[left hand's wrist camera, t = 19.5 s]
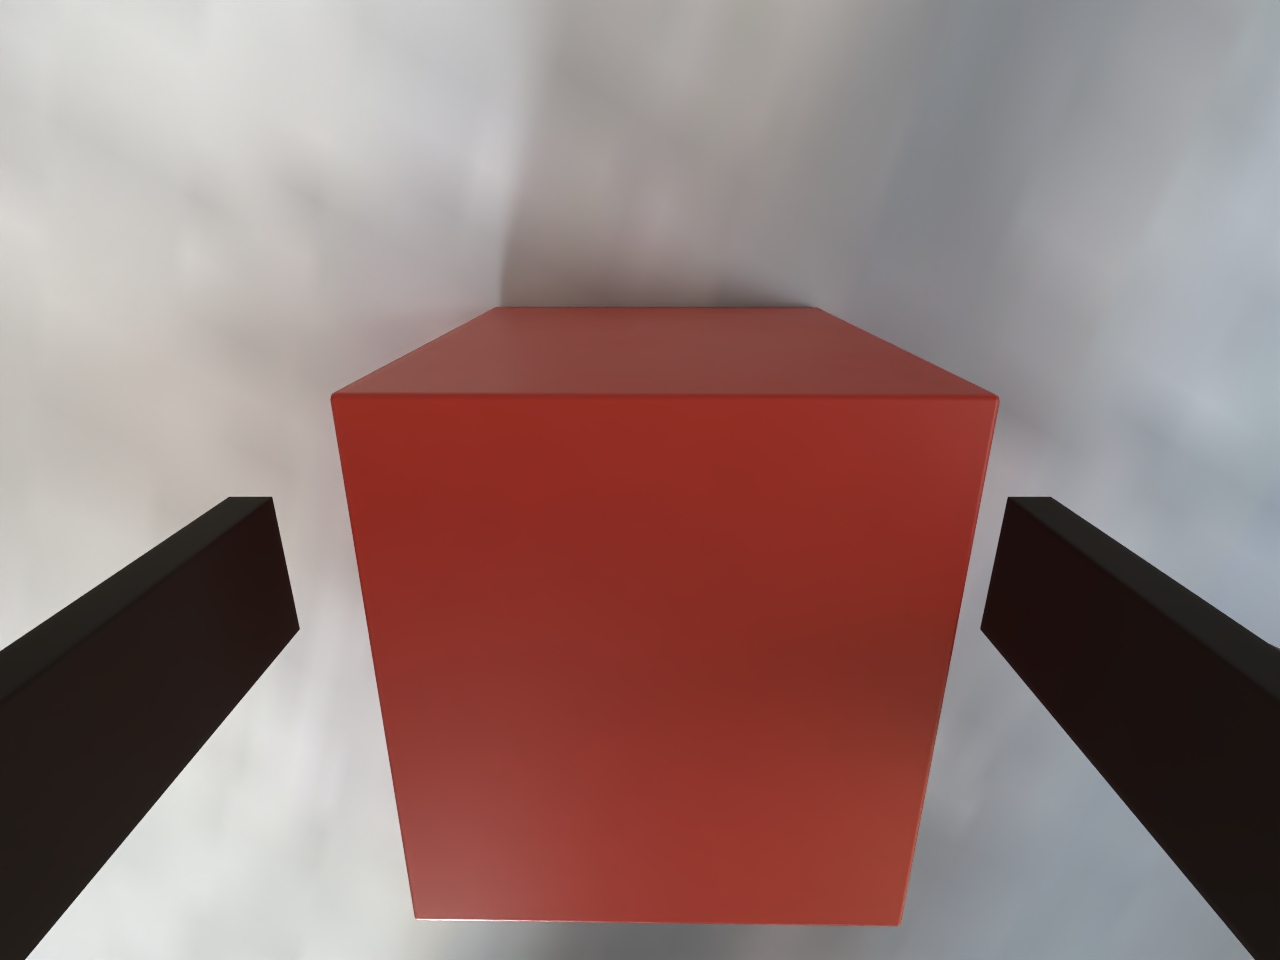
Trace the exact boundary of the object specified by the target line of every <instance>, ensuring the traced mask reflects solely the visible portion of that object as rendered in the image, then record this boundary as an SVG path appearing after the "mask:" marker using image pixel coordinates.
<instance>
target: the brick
mask: <svg viewBox="0 0 1280 960" xmlns="http://www.w3.org/2000/svg"><path fill="white" fill-rule="evenodd" d="M331 405H332V411H333V418H334V424H335V430H336V436H337V442H338V448H339V454H340V461H341V467H342V473H343V479H344V485H345V491H346V497H347V504H348V510H349V516H350V522H351V528H352V534H353V540H354V547H355V553H356V559H357V565H358V571H359V577H360V583H361V590H362V596H363V602H364V608H365V614H366V620H367V626H368V633H369V639H370V645H371V651H372V657H373V663H374V669H375V676H376V682H377V688H378V694H379V700H380V706H381V712H382V719H383V725H384V731H385V737H386V743H387V749H388V755H389V762H390V768H391V774H392V780H393V786H394V792H395V798H396V805H397V811H398V817H399V823H400V829H401V835H402V842H403V848H404V854H405V860H406V866H407V872H408V878H409V885H410V891H411V897H412V903H413V909H414V915H415V918H416V919H418V920H464V921H542V922H620V923H698V924H776V925H855V926H898V925H900V924H901V919H902V914H903V908H904V903H905V898H906V893H907V887H908V882H909V877H910V872H911V866H912V861H913V856H914V850H915V845H916V840H917V835H918V829H919V824H920V819H921V813H922V808H923V803H924V798H925V792H926V787H927V782H928V776H929V771H930V766H931V761H932V755H933V750H934V745H935V740H936V734H937V729H938V724H939V718H940V713H941V708H942V703H943V697H944V692H945V687H946V681H947V676H948V671H949V666H950V660H951V655H952V650H953V644H954V639H955V634H956V629H957V623H958V618H959V613H960V607H961V602H962V597H963V592H964V586H965V581H966V576H967V571H968V565H969V560H970V555H971V549H972V544H973V539H974V534H975V528H976V523H977V518H978V512H979V507H980V502H981V497H982V491H983V486H984V481H985V475H986V470H987V465H988V460H989V454H990V449H991V444H992V439H993V433H994V428H995V423H996V417H997V412H998V407H999V397H998V396H997V395H995V394H993V393H991V392H989V391H987V390H985V389H983V388H981V387H979V386H977V385H975V384H973V383H970V382H968V381H966V380H964V379H962V378H960V377H958V376H956V375H954V374H952V373H950V372H948V371H946V370H944V369H942V368H940V367H938V366H936V365H934V364H931V363H929V362H927V361H925V360H923V359H921V358H919V357H917V356H915V355H913V354H911V353H909V352H907V351H905V350H903V349H901V348H899V347H897V346H895V345H893V344H890V343H888V342H886V341H884V340H882V339H880V338H878V337H876V336H874V335H872V334H870V333H868V332H866V331H864V330H862V329H860V328H858V327H856V326H854V325H852V324H849V323H847V322H845V321H843V320H841V319H839V318H837V317H835V316H833V315H831V314H829V313H827V312H825V311H823V310H821V309H819V308H782V307H496V308H494V309H492V310H490V311H488V312H486V313H484V314H482V315H480V316H478V317H477V318H475V319H473V320H471V321H469V322H467V323H465V324H463V325H461V326H459V327H458V328H456V329H454V330H452V331H450V332H448V333H446V334H444V335H442V336H441V337H439V338H437V339H435V340H433V341H431V342H429V343H427V344H425V345H423V346H422V347H420V348H418V349H416V350H414V351H412V352H410V353H408V354H406V355H405V356H403V357H401V358H399V359H397V360H395V361H393V362H391V363H389V364H388V365H386V366H384V367H382V368H380V369H378V370H376V371H374V372H372V373H370V374H369V375H367V376H365V377H363V378H361V379H359V380H357V381H355V382H353V383H352V384H350V385H348V386H346V387H344V388H342V389H340V390H338V391H336V392H334V393H333V394H332V395H331Z"/></svg>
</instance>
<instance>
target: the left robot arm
mask: <svg viewBox="0 0 1280 960" xmlns="http://www.w3.org/2000/svg"><path fill="white" fill-rule="evenodd" d="M299 629H300V628H299V623H298V618H297V614H296V609H295V604H294V599H293V594H292V590H291V585H290V580H289V575H288V570H287V566H286V561H285V556H284V551H283V547H282V542H281V537H280V532H279V527H278V523H277V518H276V513H275V508H274V503H273V499H272V497H228V498H227V499H225V500H224V501H222V502H221V503H219V504H218V505H216V506H215V507H213V508H212V509H210V510H209V511H208V512H206V513H205V514H203V515H202V516H200V517H199V518H197V519H196V520H194V521H193V522H191V523H190V524H188V525H187V526H185V527H184V528H182V529H181V530H179V531H178V532H176V533H175V534H173V535H172V536H170V537H169V538H167V539H166V540H165V541H163V542H162V543H160V544H159V545H157V546H156V547H154V548H153V549H151V550H150V551H148V552H147V553H145V554H144V555H142V556H141V557H139V558H138V559H136V560H135V561H133V562H132V563H130V564H129V565H127V566H126V567H124V568H123V569H122V570H120V571H119V572H117V573H116V574H114V575H113V576H111V577H110V578H108V579H107V580H105V581H104V582H102V583H101V584H99V585H98V586H96V587H95V588H93V589H92V590H90V591H89V592H87V593H86V594H84V595H83V596H81V597H80V598H79V599H77V600H76V601H74V602H73V603H71V604H70V605H68V606H67V607H65V608H64V609H62V610H61V611H59V612H58V613H56V614H55V615H53V616H52V617H50V618H49V619H47V620H46V621H44V622H43V623H41V624H40V625H38V626H37V627H36V628H34V629H33V630H31V631H30V632H28V633H27V634H25V635H24V636H22V637H21V638H19V639H18V640H16V641H15V642H13V643H12V644H10V645H9V646H7V647H6V648H4V649H3V650H1V651H0V960H25V959H26V958H27V957H28V955H29V954H30V953H31V952H32V951H33V949H34V948H35V947H36V946H37V945H38V943H39V942H40V941H41V940H42V939H43V937H44V936H45V935H46V934H47V933H48V931H49V930H50V929H51V928H52V927H53V925H54V924H55V923H56V922H57V921H58V919H59V918H60V917H61V916H62V915H63V913H64V912H65V911H66V910H67V909H68V907H69V906H70V905H71V904H72V903H73V901H74V900H75V899H76V898H77V896H78V895H79V894H80V893H81V892H82V890H83V889H84V888H85V887H86V886H87V884H88V883H89V882H90V881H91V880H92V878H93V877H94V876H95V875H96V874H97V872H98V871H99V870H100V869H101V868H102V866H103V865H104V864H105V863H106V862H107V860H108V859H109V858H110V857H111V856H112V854H113V853H114V852H115V851H116V850H117V848H118V847H119V846H120V845H121V844H122V842H123V841H124V840H125V839H126V838H127V836H128V835H129V834H130V833H131V832H132V830H133V829H134V828H135V827H136V826H137V824H138V823H139V822H140V821H141V820H142V818H143V817H144V816H145V815H146V813H147V812H148V811H149V810H150V809H151V807H152V806H153V805H154V804H155V803H156V801H157V800H158V799H159V798H160V797H161V795H162V794H163V793H164V792H165V791H166V789H167V788H168V787H169V786H170V785H171V783H172V782H173V781H174V780H175V779H176V777H177V776H178V775H179V774H180V773H181V771H182V770H183V769H184V768H185V767H186V765H187V764H188V763H189V762H190V761H191V759H192V758H193V757H194V756H195V755H196V753H197V752H198V751H199V750H200V749H201V747H202V746H203V745H204V744H205V743H206V741H207V740H208V739H209V738H210V737H211V735H212V734H213V733H214V732H215V730H216V729H217V728H218V727H219V726H220V724H221V723H222V722H223V721H224V720H225V718H226V717H227V716H228V715H229V714H230V712H231V711H232V710H233V709H234V708H235V706H236V705H237V704H238V703H239V702H240V700H241V699H242V698H243V697H244V696H245V694H246V693H247V692H248V691H249V690H250V688H251V687H252V686H253V685H254V684H255V682H256V681H257V680H258V679H259V678H260V676H261V675H262V674H263V673H264V672H265V670H266V669H267V668H268V667H269V666H270V664H271V663H272V662H273V661H274V660H275V658H276V657H277V656H278V655H279V654H280V652H281V651H282V650H283V649H284V647H285V646H286V645H287V644H288V643H289V641H290V640H291V639H292V638H293V637H294V635H295V634H296V633H297V632H298V631H299ZM980 629H981V631H982V632H983V633H984V634H985V635H986V637H987V638H988V639H989V640H990V641H991V643H992V644H993V645H994V646H995V647H996V649H997V650H998V651H999V652H1000V654H1001V655H1002V656H1003V657H1004V658H1005V660H1006V661H1007V662H1008V663H1009V664H1010V666H1011V667H1012V668H1013V669H1014V670H1015V672H1016V673H1017V674H1018V675H1019V676H1020V678H1021V679H1022V680H1023V681H1024V682H1025V684H1026V685H1027V686H1028V687H1029V688H1030V690H1031V691H1032V692H1033V693H1034V694H1035V696H1036V697H1037V698H1038V699H1039V700H1040V702H1041V703H1042V704H1043V705H1044V706H1045V708H1046V709H1047V710H1048V711H1049V712H1050V714H1051V715H1052V716H1053V717H1054V718H1055V720H1056V721H1057V722H1058V723H1059V724H1060V726H1061V727H1062V728H1063V729H1064V730H1065V732H1066V733H1067V734H1068V735H1069V737H1070V738H1071V739H1072V740H1073V741H1074V743H1075V744H1076V745H1077V746H1078V747H1079V749H1080V750H1081V751H1082V752H1083V753H1084V755H1085V756H1086V757H1087V758H1088V759H1089V761H1090V762H1091V763H1092V764H1093V765H1094V767H1095V768H1096V769H1097V770H1098V771H1099V773H1100V774H1101V775H1102V776H1103V777H1104V779H1105V780H1106V781H1107V782H1108V783H1109V785H1110V786H1111V787H1112V788H1113V789H1114V791H1115V792H1116V793H1117V794H1118V795H1119V797H1120V798H1121V799H1122V800H1123V801H1124V803H1125V804H1126V805H1127V806H1128V807H1129V809H1130V810H1131V811H1132V812H1133V813H1134V815H1135V816H1136V817H1137V818H1138V820H1139V821H1140V822H1141V823H1142V824H1143V826H1144V827H1145V828H1146V829H1147V830H1148V832H1149V833H1150V834H1151V835H1152V836H1153V838H1154V839H1155V840H1156V841H1157V842H1158V844H1159V845H1160V846H1161V847H1162V848H1163V850H1164V851H1165V852H1166V853H1167V854H1168V856H1169V857H1170V858H1171V859H1172V860H1173V862H1174V863H1175V864H1176V865H1177V866H1178V868H1179V869H1180V870H1181V871H1182V872H1183V874H1184V875H1185V876H1186V877H1187V878H1188V880H1189V881H1190V882H1191V883H1192V884H1193V886H1194V887H1195V888H1196V889H1197V890H1198V892H1199V893H1200V894H1201V895H1202V896H1203V898H1204V899H1205V900H1206V901H1207V903H1208V904H1209V905H1210V906H1211V907H1212V909H1213V910H1214V911H1215V912H1216V913H1217V915H1218V916H1219V917H1220V918H1221V919H1222V921H1223V922H1224V923H1225V924H1226V925H1227V927H1228V928H1229V929H1230V930H1231V931H1232V933H1233V934H1234V935H1235V936H1236V937H1237V939H1238V940H1239V941H1240V942H1241V943H1242V945H1243V946H1244V947H1245V948H1246V949H1247V951H1248V952H1249V953H1250V954H1251V955H1252V957H1253V958H1254V959H1255V960H1280V649H1279V648H1277V647H1275V646H1273V645H1270V644H1268V643H1267V642H1265V641H1264V640H1262V639H1261V638H1259V637H1258V636H1256V635H1255V634H1253V633H1252V632H1250V631H1249V630H1247V629H1246V628H1244V627H1243V626H1242V625H1240V624H1239V623H1237V622H1236V621H1234V620H1233V619H1231V618H1230V617H1228V616H1227V615H1225V614H1224V613H1222V612H1221V611H1219V610H1218V609H1216V608H1215V607H1213V606H1212V605H1210V604H1209V603H1207V602H1206V601H1204V600H1203V599H1201V598H1200V597H1199V596H1197V595H1196V594H1194V593H1193V592H1191V591H1190V590H1188V589H1187V588H1185V587H1184V586H1182V585H1181V584H1179V583H1178V582H1176V581H1175V580H1173V579H1172V578H1170V577H1169V576H1167V575H1166V574H1164V573H1163V572H1161V571H1160V570H1158V569H1157V568H1156V567H1154V566H1153V565H1151V564H1150V563H1148V562H1147V561H1145V560H1144V559H1142V558H1141V557H1139V556H1138V555H1136V554H1135V553H1133V552H1132V551H1130V550H1129V549H1127V548H1126V547H1124V546H1123V545H1121V544H1120V543H1118V542H1117V541H1115V540H1114V539H1113V538H1111V537H1110V536H1108V535H1107V534H1105V533H1104V532H1102V531H1101V530H1099V529H1098V528H1096V527H1095V526H1093V525H1092V524H1090V523H1089V522H1087V521H1086V520H1084V519H1083V518H1081V517H1080V516H1078V515H1077V514H1075V513H1074V512H1072V511H1071V510H1070V509H1068V508H1067V507H1065V506H1064V505H1062V504H1061V503H1059V502H1058V501H1056V500H1055V499H1053V498H1052V497H1008V499H1007V503H1006V508H1005V513H1004V518H1003V523H1002V527H1001V532H1000V537H999V542H998V547H997V551H996V556H995V561H994V566H993V570H992V575H991V580H990V585H989V590H988V594H987V599H986V604H985V609H984V614H983V618H982V623H981V628H980Z"/></svg>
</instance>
